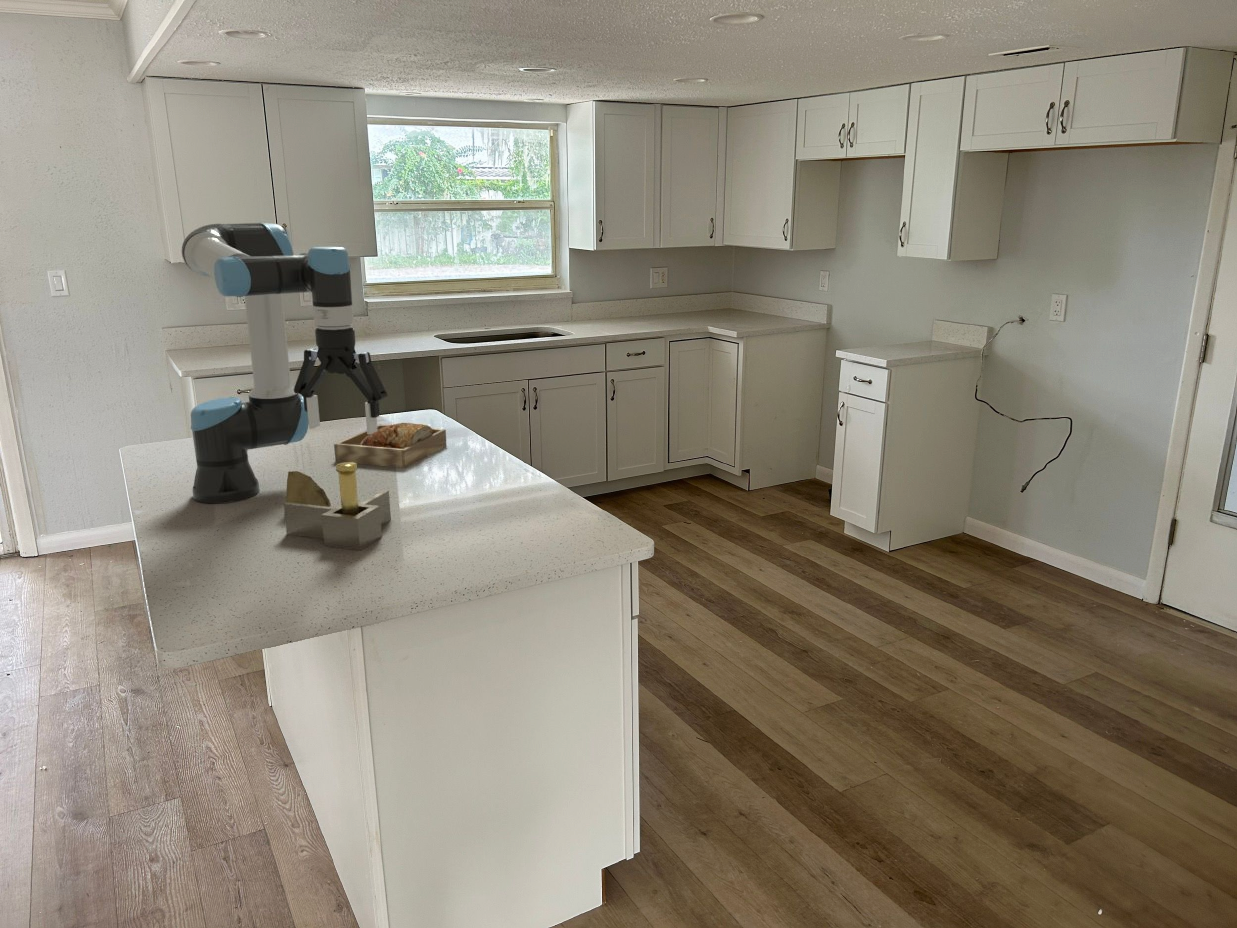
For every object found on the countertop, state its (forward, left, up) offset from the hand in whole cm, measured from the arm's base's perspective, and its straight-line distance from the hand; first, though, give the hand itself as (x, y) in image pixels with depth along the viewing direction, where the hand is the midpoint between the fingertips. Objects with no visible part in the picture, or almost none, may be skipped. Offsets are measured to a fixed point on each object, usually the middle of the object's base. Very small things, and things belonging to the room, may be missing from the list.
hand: (343, 430), depth 183 cm
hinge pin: (0, 0, -23) cm, 23 cm away
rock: (-21, +14, -25) cm, 35 cm away
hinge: (-6, +5, -24) cm, 26 cm away
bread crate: (-28, +64, -24) cm, 74 cm away
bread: (-26, +63, -25) cm, 73 cm away
